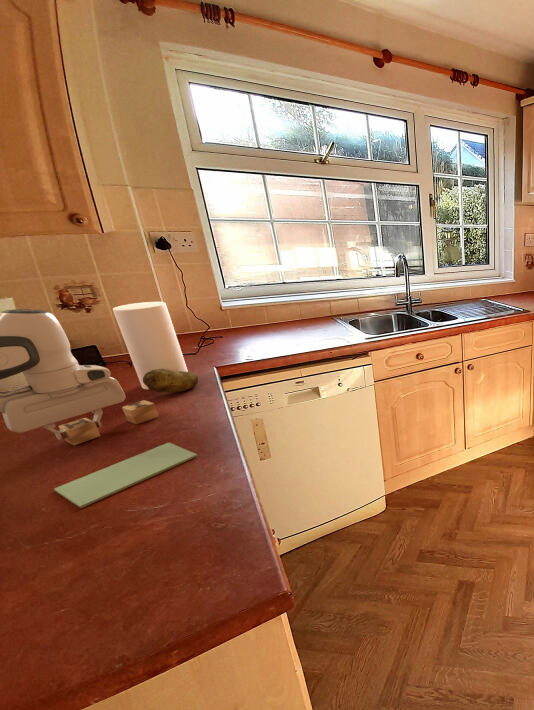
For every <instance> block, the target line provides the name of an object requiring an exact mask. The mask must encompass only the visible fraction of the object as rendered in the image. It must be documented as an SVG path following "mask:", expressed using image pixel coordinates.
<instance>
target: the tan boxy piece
mask: <svg viewBox="0 0 534 710" xmlns="http://www.w3.org/2000/svg"><path fill="white" fill-rule="evenodd" d="M121 410H122V411H123V413H124V416H125V418H126V421H127V422H129V423H132V424H134V425H140V424H142V423H145V422H147V421H151V420H154V419H156V418H159V414H158V411H157V409H156V406H155V403H154V402H151V401H148V400H145V399H143V400H140V401H137V402H134V403H133V402H132V403H130V404H127V405H124V406H122V407H121Z"/></svg>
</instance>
